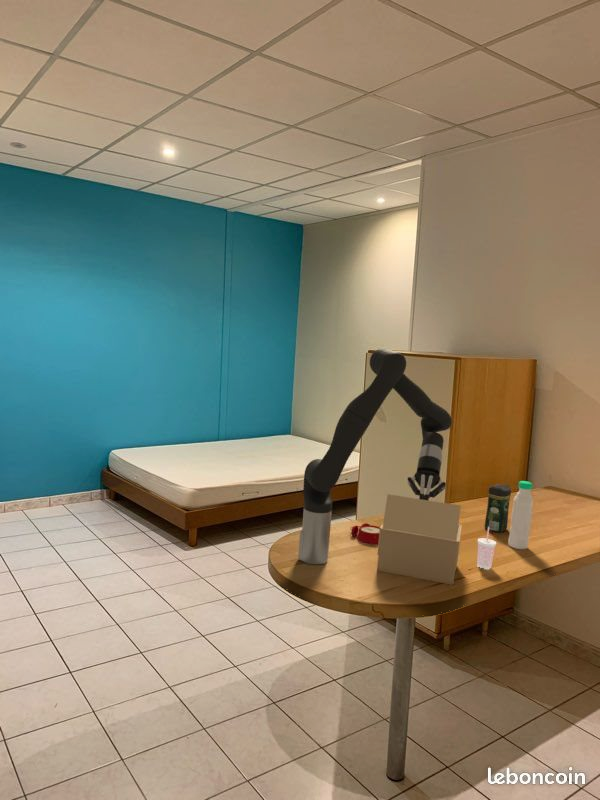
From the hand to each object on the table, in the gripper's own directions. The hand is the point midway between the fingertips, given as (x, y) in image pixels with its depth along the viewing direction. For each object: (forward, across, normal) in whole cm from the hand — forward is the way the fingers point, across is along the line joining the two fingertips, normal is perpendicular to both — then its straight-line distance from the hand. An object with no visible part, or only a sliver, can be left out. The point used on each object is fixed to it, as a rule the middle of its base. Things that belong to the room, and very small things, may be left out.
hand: (422, 506), depth 195 cm
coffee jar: (-27, +26, +61) cm, 71 cm away
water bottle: (-15, +33, +48) cm, 60 cm away
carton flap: (+3, 0, +1) cm, 4 cm away
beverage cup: (+4, +21, +28) cm, 35 cm away
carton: (+12, 0, +19) cm, 23 cm away
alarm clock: (-2, -21, +34) cm, 40 cm away
